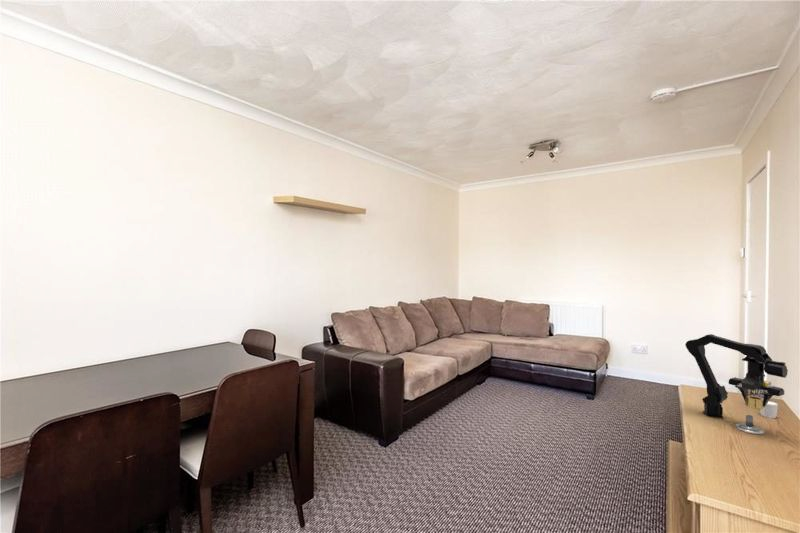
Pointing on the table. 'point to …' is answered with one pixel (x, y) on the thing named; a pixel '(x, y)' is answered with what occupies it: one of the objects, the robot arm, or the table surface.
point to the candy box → (759, 391)
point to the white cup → (770, 410)
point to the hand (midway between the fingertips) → (755, 404)
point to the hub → (749, 426)
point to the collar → (754, 402)
